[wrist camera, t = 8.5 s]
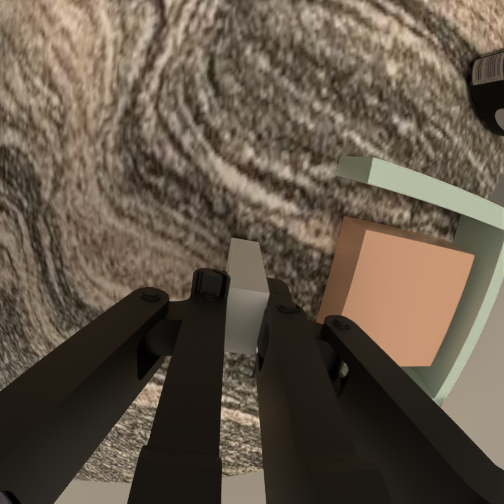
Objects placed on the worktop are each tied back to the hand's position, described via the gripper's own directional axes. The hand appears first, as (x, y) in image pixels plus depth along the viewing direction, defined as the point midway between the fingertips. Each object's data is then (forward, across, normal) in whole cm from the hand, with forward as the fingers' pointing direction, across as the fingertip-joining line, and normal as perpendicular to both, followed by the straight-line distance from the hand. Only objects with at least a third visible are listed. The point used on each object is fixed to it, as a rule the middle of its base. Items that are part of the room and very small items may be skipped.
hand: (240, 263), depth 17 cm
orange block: (+2, +10, 0) cm, 10 cm away
